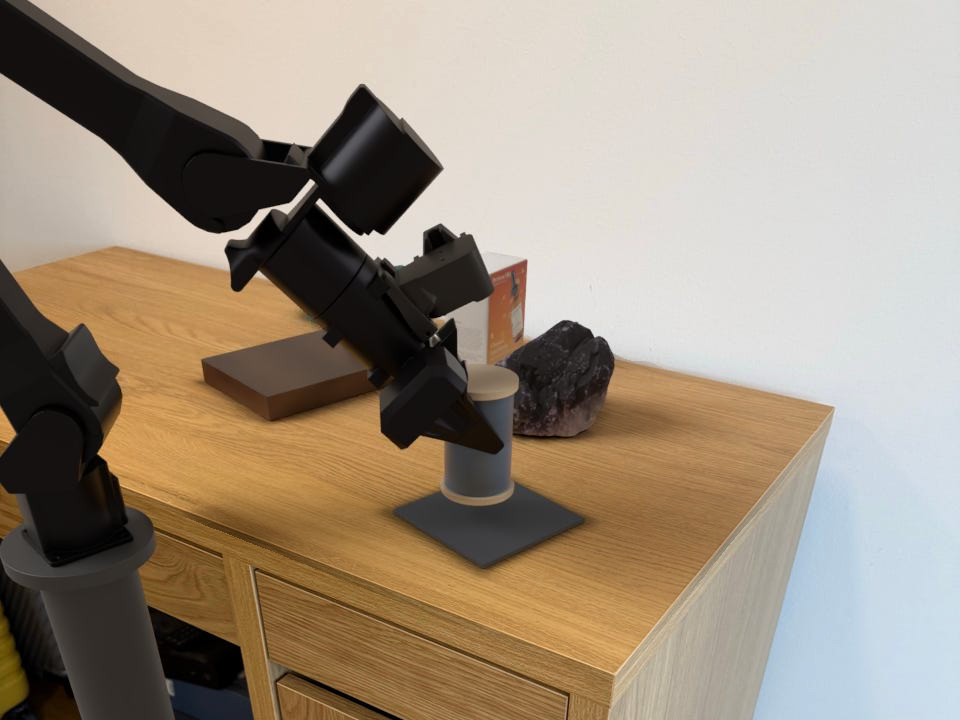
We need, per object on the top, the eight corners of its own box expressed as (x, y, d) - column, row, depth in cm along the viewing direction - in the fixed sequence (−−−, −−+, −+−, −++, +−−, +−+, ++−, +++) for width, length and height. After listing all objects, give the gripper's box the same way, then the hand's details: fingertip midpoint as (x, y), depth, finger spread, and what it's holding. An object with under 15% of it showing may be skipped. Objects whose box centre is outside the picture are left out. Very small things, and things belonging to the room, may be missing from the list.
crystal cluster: (447, 411, 92) (444, 316, 86) (552, 374, 98) (557, 281, 91) (527, 470, 84) (530, 370, 78) (636, 426, 90) (648, 329, 83)
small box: (486, 375, 99) (489, 274, 92) (444, 364, 101) (443, 265, 95) (524, 354, 104) (529, 257, 98) (483, 344, 106) (485, 249, 100)
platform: (270, 421, 88) (266, 396, 86) (204, 382, 96) (200, 358, 94) (393, 384, 96) (392, 361, 95) (324, 351, 104) (322, 329, 102)
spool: (428, 497, 71) (426, 385, 65) (458, 466, 75) (458, 359, 70) (498, 512, 69) (502, 398, 64) (524, 480, 73) (530, 370, 68)
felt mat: (483, 569, 67) (483, 564, 67) (392, 513, 74) (392, 509, 74) (584, 521, 73) (585, 517, 73) (492, 474, 80) (492, 470, 80)
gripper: (430, 228, 51) (602, 410, 59) (414, 167, 66) (554, 318, 74) (302, 367, 55) (479, 521, 63) (315, 280, 70) (457, 413, 78)
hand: (495, 434), depth 69 cm, fingers closed on spool, 5 cm apart
